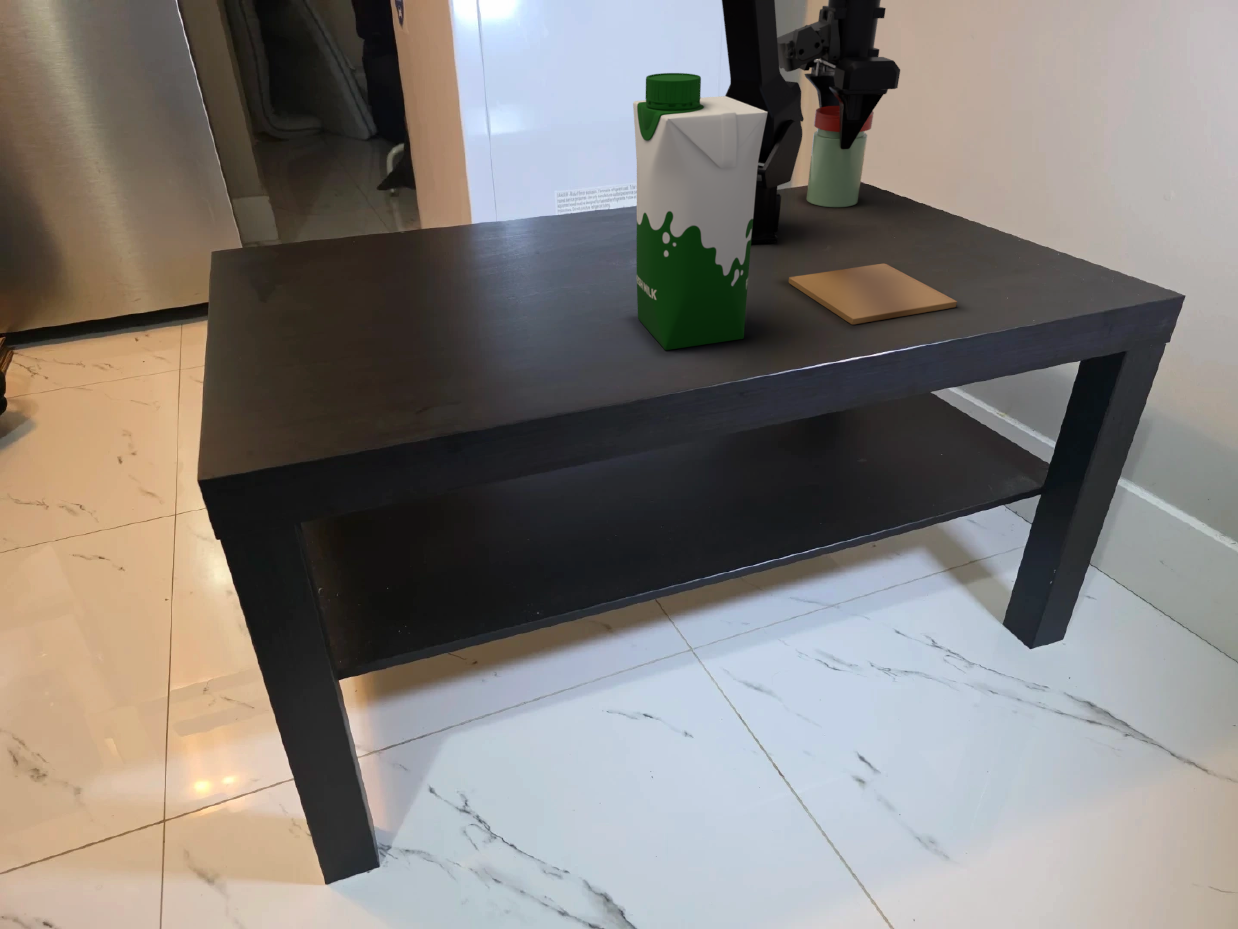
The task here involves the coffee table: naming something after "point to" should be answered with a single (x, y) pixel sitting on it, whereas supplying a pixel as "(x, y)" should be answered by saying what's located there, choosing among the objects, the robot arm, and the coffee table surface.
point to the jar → (835, 170)
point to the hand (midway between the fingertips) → (835, 142)
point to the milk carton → (694, 210)
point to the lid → (834, 119)
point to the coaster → (871, 293)
